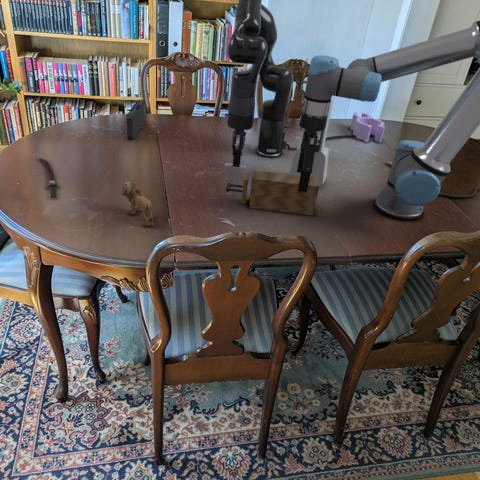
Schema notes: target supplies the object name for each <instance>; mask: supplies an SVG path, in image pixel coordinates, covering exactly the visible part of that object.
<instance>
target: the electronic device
mask: <svg viewBox="0 0 480 480" xmlns="http://www.w3.org/2000/svg"><path fill="white" fill-rule="evenodd" d="M334 100H335V98H334V97H333V96H332V97H331V104H330V109H329V113H328V115H327V122H326V127H325V129H324V130H322V131H320V136H319V140H320V141H319V142H318V144H316V148H315V154H314V161H313V168H312V173H311V174H310V177H316V178H318V183H319V188H320V187H321V186H322V185H324V183H325V181H326V179H327V173H328V163H329V162H328V161H329V153H330V150H329V149H328V148H327V147H326V146H325V145H326V138H327V135H328V130H329V125H330V119H331V114H332V109H333V104H334ZM296 148H297V150H295V152H294V156H293V159H292V162H291V166H290V169H289V173H288V174H290V175H299V176H301V173H299V172H297V167H298V162H299V156H300V152H301V151H300V150H301V143H300V144H299V145H298V147H296ZM301 153H302V152H301ZM308 169H309V168H308Z"/></svg>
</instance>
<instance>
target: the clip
mask: <svg viewBox="0 0 480 480" xmlns="http://www.w3.org/2000/svg"><path fill="white" fill-rule="evenodd" d="M358 114H359V113H358V112H353V114H352V118H351V122H350V126H349V129H350V130H351V131H353V132H352V135H356V137H355V138H356V139H358V140H361V141H363V142H364V143H368V142H369V140H370V137H369V136H370V135H373V136H374V139H373V140H374V142H376V143H382V140H383V137H384V132H385V129H386V127H385V122H384V121H383V120H380V119H377V118H374V117H372V115H371V114H369V113H366V112H361V115H358Z"/></svg>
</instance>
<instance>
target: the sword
mask: <svg viewBox="0 0 480 480" xmlns="http://www.w3.org/2000/svg"><path fill="white" fill-rule="evenodd" d="M40 161H41V162H42V163H43V165H44V166H45V169H46V173H47V176H48V185H47V188H50V198H56V197H57V189H56V188H57V187H59V185H58V184H57V183H56V180H55V176H54V172H53V169H52V167H51V164H50V163H49V161H48V160H46V159H43V158H40Z"/></svg>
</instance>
